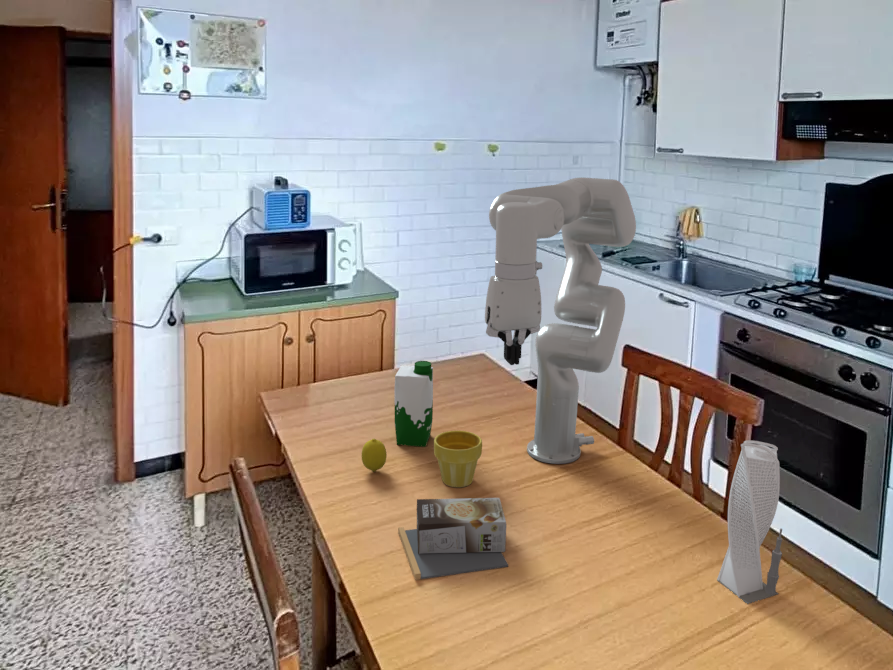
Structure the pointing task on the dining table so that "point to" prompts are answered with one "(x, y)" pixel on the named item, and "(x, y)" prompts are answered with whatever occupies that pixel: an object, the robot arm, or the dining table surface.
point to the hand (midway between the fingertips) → (512, 362)
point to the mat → (446, 559)
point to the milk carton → (414, 404)
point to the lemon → (374, 455)
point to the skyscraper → (752, 523)
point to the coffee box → (460, 525)
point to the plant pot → (457, 456)
